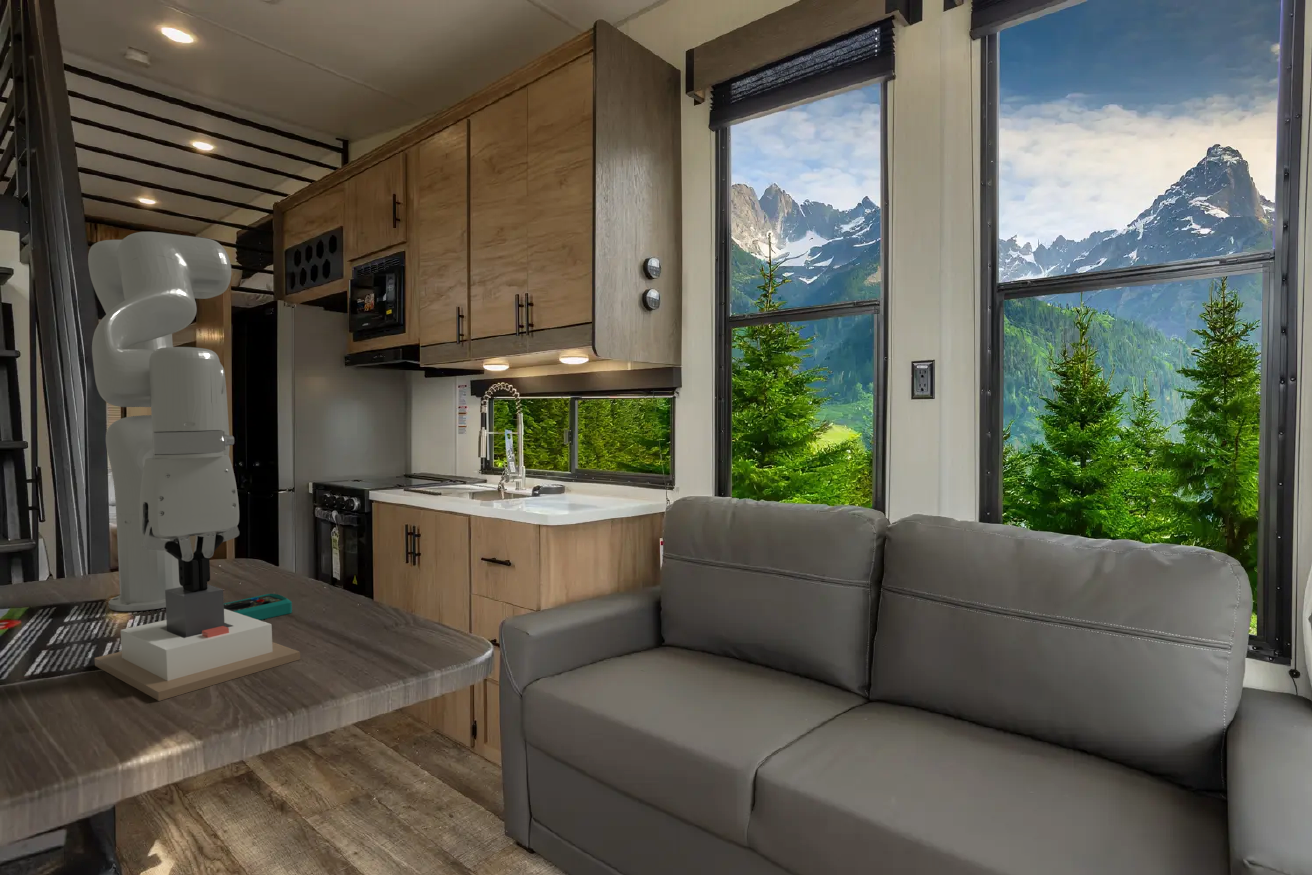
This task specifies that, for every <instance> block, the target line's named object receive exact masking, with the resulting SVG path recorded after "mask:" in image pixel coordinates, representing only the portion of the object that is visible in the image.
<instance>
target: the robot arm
mask: <svg viewBox="0 0 1312 875" xmlns="http://www.w3.org/2000/svg"><path fill="white" fill-rule="evenodd" d="M87 257H88V258H87V259H88V260H87V262H88V263H87V265H88V270H89V277H90V280H91V283H92V286H93V289H94V291H95V295H96V296H97V299H98V300H99V302H100V304H101V306H102V309H103V310H104V312H105V315H104V316H103V317H102V318H101V320H100V321H99V323H98V324H97V326H96V328H95V329H94V332H93V337H92V342H91V344H92V345H91V355H92V363H93V373H94V380H95V386H96V389H97V391H98V394H99V396H100V397H101V398H102V399H103V401H104V402H106V403H107V404H109V405H111V406H115V407H118V408H119V407H120V408H150V411H151V414H147V415H146V414H145V415H133V416H131V415H130V416H125V417H122V418H119V419H117V420H116V421H113V422H112V423H111V424H110V425H109V427H108V428H107V430H106V432H105V446H106V451H107V455H108V460H109V465H110V468H111V474H112V479H113V487H114V499H115V500H114V502H115V514H116V515H115V516H116V519H115V520H116V538H117V539H116V540H117V557H118V558H117V559H118V563H117V564H118V578H119V579H118V580H119V595H117V596H114V597H112V598H110V600H109V601H108V608H109V609H110V610H111V611H116V612H139V611H149V610H151V611H152V610H157V609H164V608H165V609H166V598H165V590H167V589H172V588H178V587H183V589H184V590H187V591H190V592H197V591H198V590H207V584H208V582H210V581H211V567H210V558H213V556H214V552H215V551H216V550H217V549H218V548H219V547H220V546H221V545H222V544H223V543H224V542H228V541H230V540H232V539H235V538H238V537H239V536H240V530H239V527H238V525H239V523H240V504H239V496H238V489H237V488H238V487H237V482H236V476H235V473H234V472H235V471H234V468H233V464H232V461H231V458H230V446H233V445H234V444H235V437H234V436H233V435H232V434H231V435H230V425H229V424H230V423H229V412H228V411H229V407H228V393H227V392H228V391H227V383H226V379H227V378H226V375H225V374H226V373H225V372H226V371H225V368H224V366H223V364H222V363H221V362H220V361H221V360H220V358H219V355H218V354H217V353H216V352H215V351H213V350H212V349H208V348H202V347H192V346H174V344H173V342H174V341H173V334H175V333H177V332H180V331H182V330H184V329H185V328H188V326H189V325H191V323H192V322H193V321H194V320H195V317H196V315H197V303H196V299H199V300H201V299H202V300H203V299H206V300H207V299H212V298H214V297H218V296H220V295H222V294H224V292H226V291H227V290H228V288H229V287H230V284H231V278H232V264H231V261H230V256H229V254H228V253H227V251H226V249H225V247H224V246H222V244H220V242H218V241H216V240H213V239H212V238H207V237H199V236H192V235H191V236H189V235H185V234H184V235H181V234H175V233H167V232H158V231H139V232H134V233H131V234H129V235H126V237H124V238H122V239H106V240H100V241H98V242H95V243H93V244H92V245H91V246H90V248H89V250H88V256H87ZM194 536H195V539H194V540H195V541H194V551H193V547H192V543H191V537H194Z"/></svg>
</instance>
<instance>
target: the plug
mask: <svg viewBox="0 0 1312 875" xmlns="http://www.w3.org/2000/svg"><path fill="white" fill-rule="evenodd" d="M165 598H166V607H165V615H166V616H165V618H166V619H165V620H167V631H168V632H170V633H173V634H175V635H178V636H180V637H182V638H186V637H190V636H195V635H199V634H202V631H203V630H207V629H212V628H216V627H220V626H225V623H224V603H225V601H224V600H225V599H224V589H223V588H219V587H217V586H214V585H211V584H208V583H207V590H198V591H197V592H190V591H187V590H184V589H183V587H178V588H172V589H167V590H165Z"/></svg>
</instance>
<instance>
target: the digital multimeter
mask: <svg viewBox="0 0 1312 875" xmlns="http://www.w3.org/2000/svg"><path fill="white" fill-rule="evenodd" d="M224 609H227V610H230V611H233V612H236V613H239V614H242V615H245V616H248V617H251V618H254V619H257V620H260V621H264V620H268V619H272V618H278V617H280V616H286V615H291V614H292V613H293V601H292V600H290V599H289V598H287V597H285V596H284V595H281V594H278V593H266V594H260V595H256V596H252V597H248V598H243V599H239V600H233V601H228V602H224Z"/></svg>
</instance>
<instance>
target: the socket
mask: <svg viewBox="0 0 1312 875" xmlns="http://www.w3.org/2000/svg"><path fill="white" fill-rule="evenodd" d="M224 623H225V626H220V627H216V628H212V629H207V630H203V631H202V634H199V635H195V636H190V637H186V638H182V637H180V636H178V635H175V634H173V633H170V632H168V631H167V620H166V619H165V620H159V621H155V622H150V623H146V624H141V625H137V626H132V627H128V628H123V629H120V647H121V648H120V649H121V651H118V652H114V653H109V654H105V655H100V656H97V657H94V666H95V667H96V668H98V669H100V670H102V671H104V672H105V673H107V674H110V676H113V677H115V678H116V679H119V680H120V681H122V682H124V683H126V684H127V685H129V686H131V687H132V688H134V689H137V690H138V691H140V692H142V693H143V694H145V695H148V697H151V698H153V699H155V700H156V701H158V702H160V701H163V700H167V699H171V698H173V697H177V696H180V695H184V694H187V693H190V692H194V691H197V690H201V689H204V688H208V687H211V686H215V685H217V684H218V685H219V684H221V683H225V682H228V681H232V680H234V679H238V678H242V677H245V676H249V675H251V674H252V675H253V674H254V673H258V672H261V671H265V670H266V671H267V670H268V669H272V668H276V667H278V666H282V665H286V664H290V663H292V662H295V661H296V662H297V661H299V660H301V652H300V651H299V650H297V649H293V648H290V647H288V646H285V645H282V644H279V643H277V642H274V641H273V631H272V630H273V629H272V628H273V626H272V623H269V622H266V621H264V620H257V619H254V618H251V617H248V616H245V615H242V614H239V613H236V612H233V611H230V610H227V609H224Z"/></svg>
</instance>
